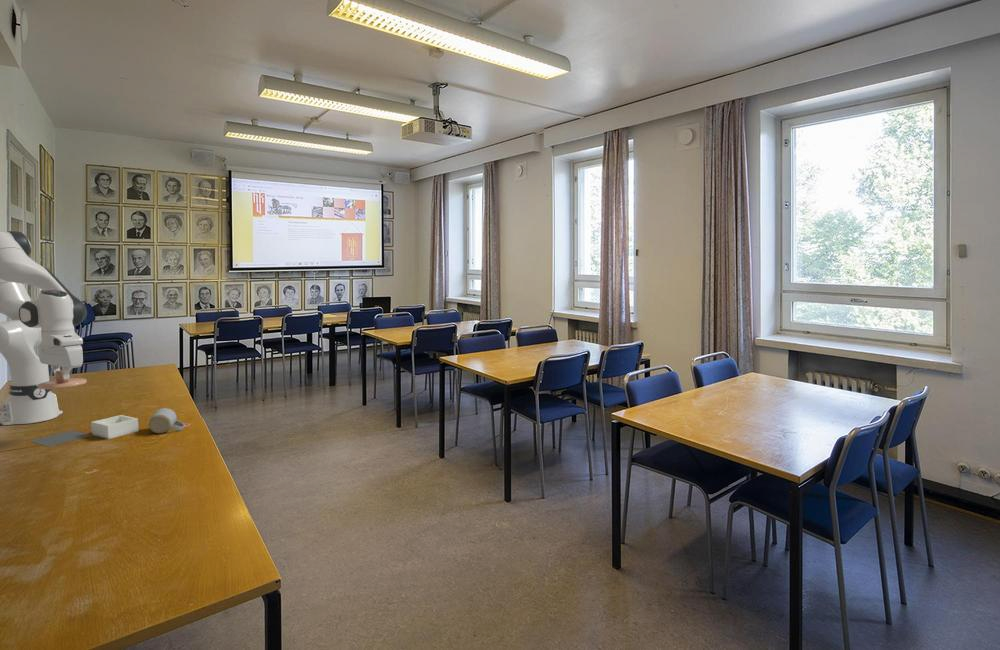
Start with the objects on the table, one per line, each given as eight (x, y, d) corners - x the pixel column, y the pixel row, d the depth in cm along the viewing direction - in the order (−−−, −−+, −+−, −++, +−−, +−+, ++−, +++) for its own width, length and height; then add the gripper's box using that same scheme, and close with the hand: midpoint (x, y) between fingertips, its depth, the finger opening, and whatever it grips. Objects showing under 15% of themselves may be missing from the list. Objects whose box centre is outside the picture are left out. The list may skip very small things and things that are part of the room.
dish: (92, 435, 188) (91, 421, 187) (122, 428, 197) (121, 414, 196) (108, 440, 184) (107, 425, 183) (138, 432, 193) (137, 418, 192)
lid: (29, 386, 179) (28, 372, 179) (74, 378, 191) (73, 365, 190) (50, 390, 173) (48, 376, 173) (94, 382, 185) (93, 369, 184)
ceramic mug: (147, 435, 189) (147, 414, 188) (153, 428, 197) (152, 408, 196) (182, 433, 193) (181, 412, 192) (186, 426, 201) (185, 406, 200)
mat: (28, 441, 181) (28, 440, 181) (72, 431, 192) (72, 430, 192) (48, 448, 175) (48, 446, 175) (92, 436, 187) (92, 435, 187)
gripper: (31, 337, 182) (35, 377, 183) (63, 341, 173) (67, 383, 175) (53, 335, 188) (56, 373, 189) (85, 339, 179) (89, 379, 180)
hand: (62, 378), depth 182 cm, fingers closed on lid, 3 cm apart
